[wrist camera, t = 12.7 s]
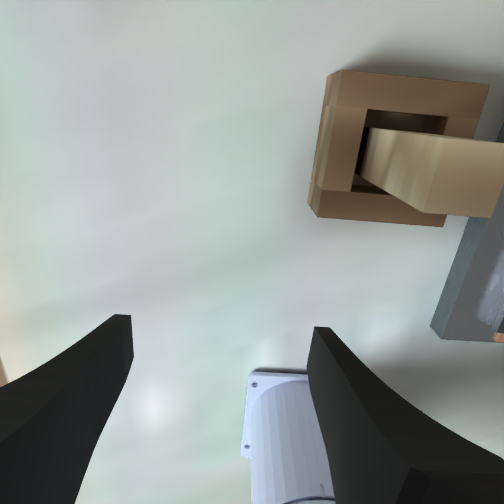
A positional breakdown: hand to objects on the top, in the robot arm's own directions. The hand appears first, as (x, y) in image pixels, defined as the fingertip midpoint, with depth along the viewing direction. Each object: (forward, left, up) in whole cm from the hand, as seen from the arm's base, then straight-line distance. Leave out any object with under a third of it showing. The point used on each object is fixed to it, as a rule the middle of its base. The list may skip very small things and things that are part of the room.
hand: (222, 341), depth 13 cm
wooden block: (+7, -8, -9) cm, 14 cm away
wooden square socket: (+7, -8, -9) cm, 14 cm away
